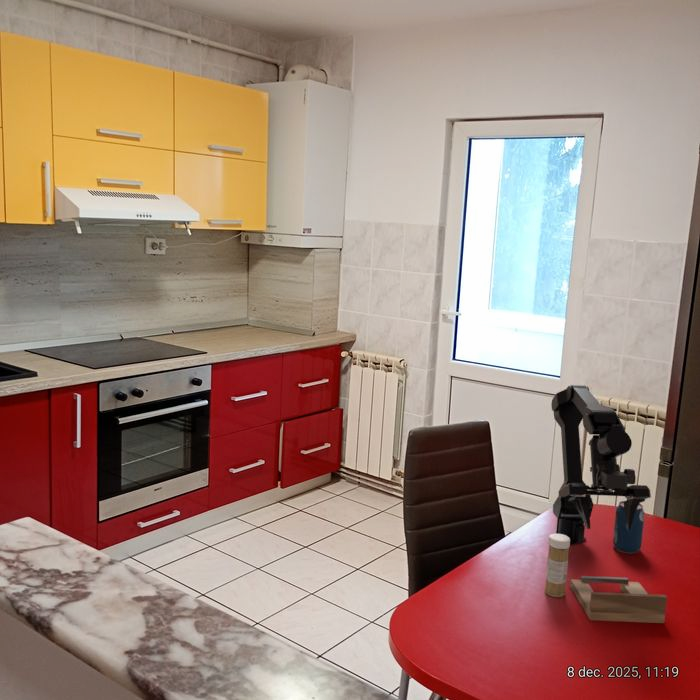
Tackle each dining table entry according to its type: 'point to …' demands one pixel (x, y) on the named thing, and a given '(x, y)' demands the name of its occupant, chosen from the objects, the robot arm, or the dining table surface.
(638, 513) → the soda can
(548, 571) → the sprinkles bottle
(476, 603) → the dining table surface
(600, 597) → the wooden frame
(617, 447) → the robot arm
